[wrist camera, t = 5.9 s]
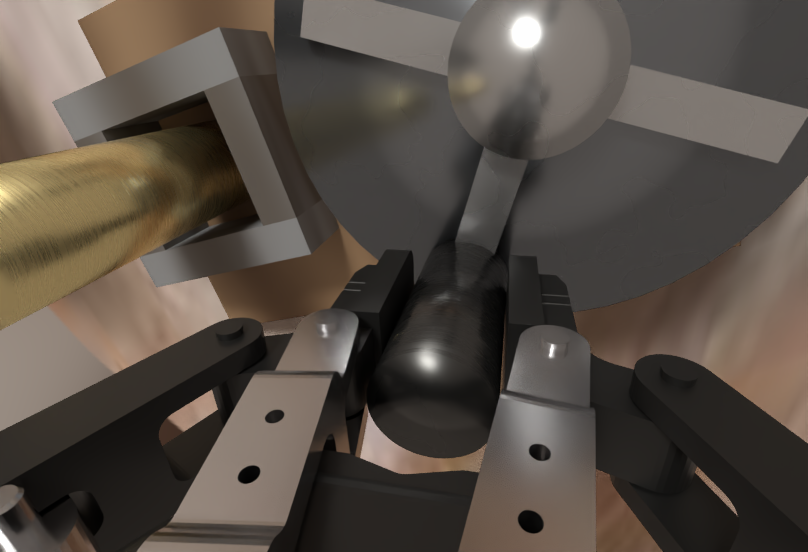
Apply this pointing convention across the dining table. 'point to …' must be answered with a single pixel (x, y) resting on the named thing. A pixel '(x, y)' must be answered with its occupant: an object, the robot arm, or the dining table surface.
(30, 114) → the dining table surface
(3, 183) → the gold metallic cylinder
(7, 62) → the dining table surface
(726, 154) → the handwheel
